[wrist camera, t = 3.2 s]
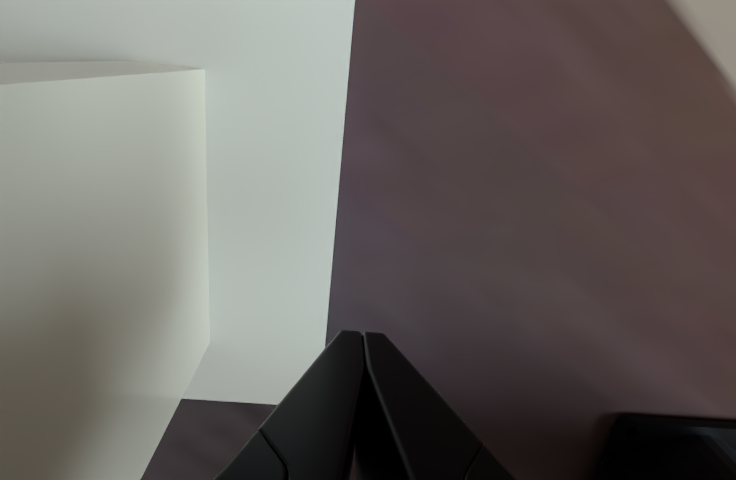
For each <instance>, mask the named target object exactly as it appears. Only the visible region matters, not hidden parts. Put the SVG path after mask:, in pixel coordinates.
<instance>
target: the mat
mask: <svg viewBox="0 0 736 480" xmlns="http://www.w3.org/2000/svg"><path fill="white" fill-rule="evenodd" d="M354 5H355V0H0V63H23V62H92V61H136V62H145V63H154V64H163V65H172V66H181V67H190V68H199V69H204V76H205V128H206V180H207V232H208V284H209V336H210V343H209V345H208V347H207V349H206V351H205V353H204V355H203V357H202V359H201V361H200V363H199V365H198V367H197V369H196V371H195V373H194V375H193V377H192V379H191V381H190V383H189V385H188V387H187V389H186V390H185V392H184V394H183V396H182V399H197V400H213V401H228V402H244V403H259V404H274V405H278V404H279V403H280V402H281V401H282V399H283V398H284V397H285V396H286V395H287V393H288V392H289V391H290V390H291V389H292V387H293V386H294V385H295V384H296V383H297V381H298V380H299V379H300V378H301V377H302V375H303V374H304V373H305V372H306V371H307V369H308V368H309V367H310V366H311V365H312V363H313V362H314V361H315V360H316V359H317V357H318V356H319V355H320V354H321V353H322V351H323V350H324V349H325V341H326V329H327V317H328V306H329V294H330V283H331V271H332V259H333V248H334V236H335V225H336V213H337V202H338V190H339V178H340V167H341V155H342V144H343V132H344V121H345V109H346V97H347V86H348V74H349V63H350V51H351V40H352V28H353V16H354Z"/></svg>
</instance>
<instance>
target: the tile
mask: <svg viewBox="0 0 736 480" xmlns="http://www.w3.org/2000/svg"><path fill="white" fill-rule="evenodd" d="M209 343H210V336H209V284H208V232H207V180H206V128H205V76H204V69H199V68H190V67H181V66H172V65H163V64H154V63H145V62H136V61H92V62H23V63H0V480H141V478H142V476H143V474H144V472H145V470H146V468H147V466H148V464H149V462H150V460H151V458H152V456H153V454H154V452H155V450H156V448H157V446H158V444H159V442H160V440H161V438H162V436H163V434H164V432H165V430H166V428H167V426H168V424H169V422H170V420H171V418H172V416H173V414H174V412H175V410H176V408H177V406H178V404H179V402H180V400H181V398H182V396H183V394H184V392H185V390H186V389H187V387H188V385H189V383H190V381H191V379H192V377H193V375H194V373H195V371H196V369H197V367H198V365H199V363H200V361H201V359H202V357H203V355H204V353H205V351H206V349H207V347H208V345H209Z"/></svg>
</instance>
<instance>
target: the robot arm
mask: <svg viewBox="0 0 736 480" xmlns="http://www.w3.org/2000/svg"><path fill="white" fill-rule="evenodd" d="M629 428H630V429H629ZM354 446H355V467H356V478H357V480H517V479H516V478H515V477H514V476H513V475H512V474H511V473H510V472H509V471H508V470H507V468H506V467H505V466H504V465H503V464H502V463H501V462H500V461H499V460H498V459H497V458H496V457H495V456H494V454H493V453H492V452H491V451H490V450H489V449H488V448H487V447H486V446H483V443H482V441H481V440H480V439H479V438H478V437H477V436H476V435H475V434H474V433H473V432H472V430H471V429H470V428H469V427H468V426H467V425H466V424H465V423H464V422H463V421H462V419H461V418H460V417H459V416H458V415H457V414H456V413H455V412H454V411H453V409H452V408H451V407H450V406H449V405H448V404H447V403H446V402H445V401H444V400H443V398H442V397H441V396H440V395H439V394H438V393H437V392H436V391H435V390H434V388H433V387H432V386H431V385H430V384H429V383H428V382H427V381H426V380H425V379H424V377H423V376H422V375H421V374H420V373H419V372H418V371H417V370H416V369H415V367H414V366H413V365H412V364H411V363H410V362H409V361H408V360H407V359H406V358H405V356H404V355H403V354H402V353H401V352H400V351H399V350H398V349H397V348H396V347H395V345H394V344H393V343H392V342H391V341H390V340H389V339H388V338H387V337H386V335H384V334H383V333H373V332H364V333H363V334H361V333H360V332H358V331H347V330H341V331H339V332H338V333H337V334H336V336H335V337H334V338H333V339H332V340H331V342H330V343H329V344H328V345H327V346H326V348H325V349H324V350H323V351H322V353H321V354H320V355H319V356H318V357H317V359H316V360H315V361H314V362H313V363H312V365H311V366H310V367H309V368H308V369H307V371H306V372H305V373H304V374H303V375H302V377H301V378H300V379H299V380H298V381H297V383H296V384H295V385H294V386H293V387H292V389H291V390H290V391H289V392H288V393H287V395H286V396H285V397H284V398H283V399H282V401H281V402H280V403H279V404H278V405H277V407H276V408H275V409H274V410H273V412H272V413H271V414H270V415H269V416H268V418H267V419H266V420H265V421H264V422H263V424H262V425H261V426H260V427H259V428H258V431H257V432H255V433H254V434H253V435H252V436H251V438H250V439H249V440H248V441H247V443H246V444H245V445H244V446H243V447H242V449H241V450H240V451H239V452H238V453H237V454H236V455H235V456H234V457H233V459H232V460H231V461H230V462H229V463H228V464H227V465H226V466H225V468H224V469H223V470H222V471H221V472H220V473H219V474H218V475H217V476H216V477H215V478H214V479H213V480H350V474H351V468H352V461H353V453H354ZM593 480H736V422H721V421H706V420H691V419H676V418H661V417H646V416H631V415H629V416H623V417H621V418H619V419H618V420H617V421H616V422H615V424H614V426H613V428H612V431H611V434H610V436H609V439H608V442H607V444H606V447H605V450H604V452H603V455H602V458H601V460H600V463H599V465H598V468H597V471H596V473H595V476H594V479H593Z"/></svg>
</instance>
